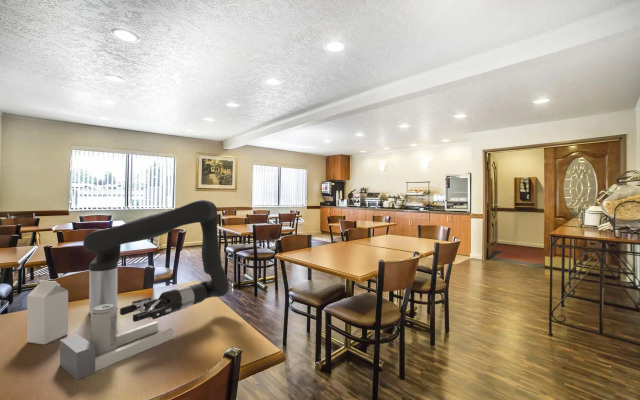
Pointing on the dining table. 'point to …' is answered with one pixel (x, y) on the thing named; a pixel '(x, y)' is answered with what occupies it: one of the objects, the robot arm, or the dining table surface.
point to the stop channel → (81, 353)
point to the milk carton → (47, 313)
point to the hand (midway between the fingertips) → (126, 315)
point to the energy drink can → (104, 328)
